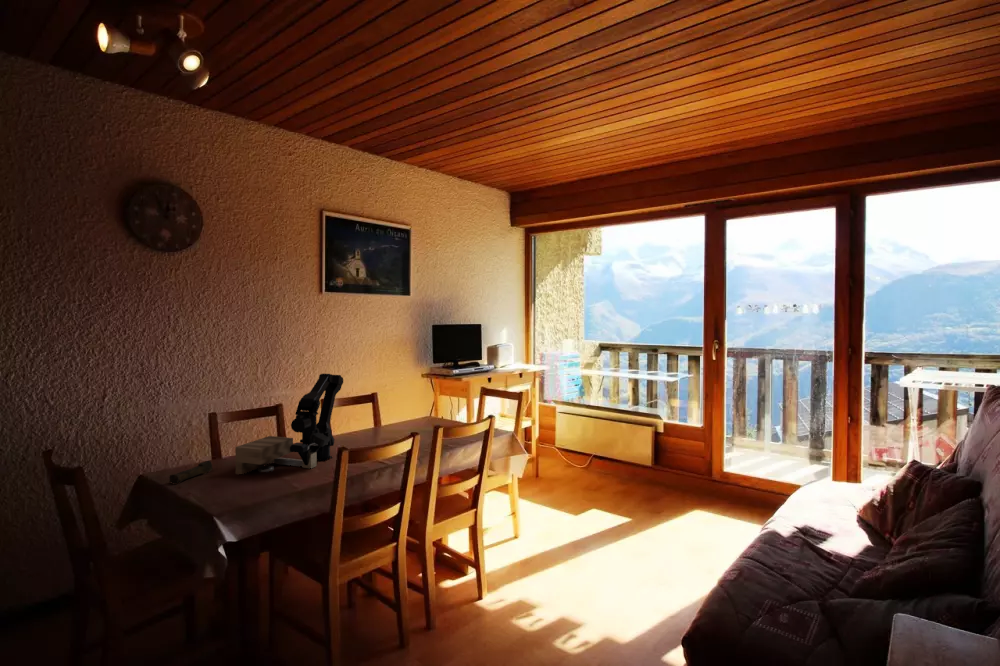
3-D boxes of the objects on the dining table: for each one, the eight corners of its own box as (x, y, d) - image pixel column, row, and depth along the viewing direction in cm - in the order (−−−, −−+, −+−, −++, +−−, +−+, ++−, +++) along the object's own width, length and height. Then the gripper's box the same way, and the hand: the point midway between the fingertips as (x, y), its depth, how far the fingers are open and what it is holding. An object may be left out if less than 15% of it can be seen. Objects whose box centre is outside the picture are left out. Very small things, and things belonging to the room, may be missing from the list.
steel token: (265, 468, 226) (265, 464, 226) (277, 469, 224) (277, 466, 224) (254, 472, 220) (254, 468, 220) (267, 473, 218) (267, 470, 218)
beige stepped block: (269, 460, 236) (269, 435, 235) (293, 463, 232) (293, 438, 232) (235, 474, 216) (235, 447, 216) (260, 477, 213) (260, 449, 213)
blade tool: (278, 462, 233) (278, 448, 233) (316, 465, 228) (316, 451, 228) (271, 464, 229) (271, 450, 229) (310, 468, 224) (310, 454, 224)
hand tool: (176, 485, 202) (176, 473, 202) (168, 484, 204) (168, 472, 204) (217, 471, 221) (217, 460, 220) (209, 470, 222) (209, 459, 222)
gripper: (312, 433, 215) (313, 471, 216) (338, 423, 233) (338, 459, 234) (288, 431, 218) (289, 469, 219) (316, 422, 236) (316, 457, 237)
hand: (309, 463), depth 227 cm, fingers closed on blade tool, 4 cm apart
